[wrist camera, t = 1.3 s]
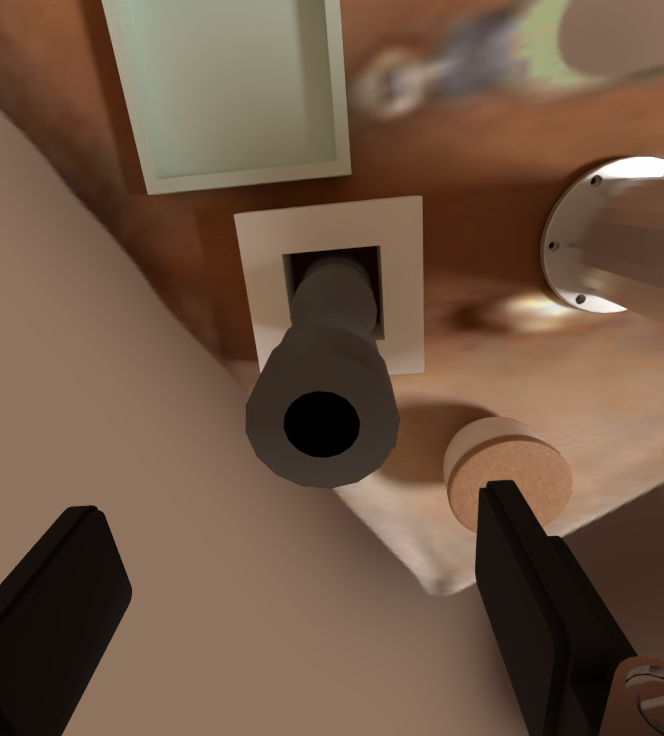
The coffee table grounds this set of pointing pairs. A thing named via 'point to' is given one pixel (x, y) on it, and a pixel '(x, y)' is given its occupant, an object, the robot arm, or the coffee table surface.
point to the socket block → (328, 232)
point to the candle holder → (326, 383)
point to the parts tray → (232, 90)
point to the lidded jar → (505, 468)
